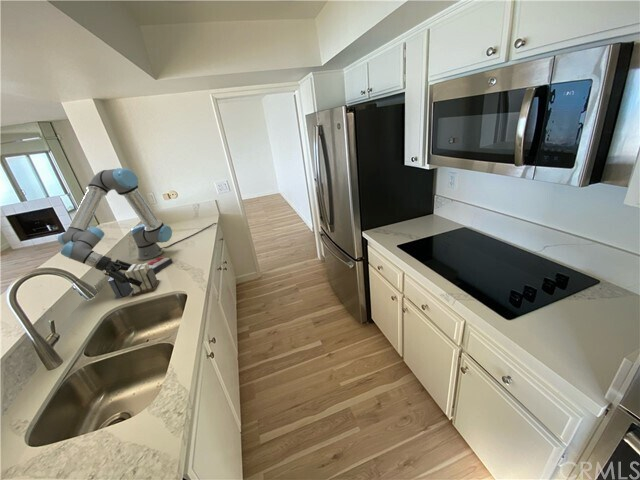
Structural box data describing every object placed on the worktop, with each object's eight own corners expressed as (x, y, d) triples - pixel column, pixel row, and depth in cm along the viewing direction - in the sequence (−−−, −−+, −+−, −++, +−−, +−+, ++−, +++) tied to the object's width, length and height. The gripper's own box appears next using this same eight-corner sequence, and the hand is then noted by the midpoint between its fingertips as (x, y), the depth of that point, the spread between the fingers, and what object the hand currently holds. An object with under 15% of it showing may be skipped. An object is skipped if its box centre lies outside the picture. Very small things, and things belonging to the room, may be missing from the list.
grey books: (121, 291, 150) (113, 274, 145) (132, 288, 151) (124, 272, 146) (116, 298, 143) (107, 281, 139) (127, 295, 145) (119, 278, 140)
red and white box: (171, 257, 176) (152, 267, 163) (173, 263, 177) (154, 274, 164) (158, 257, 179) (139, 267, 166) (160, 262, 181) (141, 273, 167)
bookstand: (139, 285, 153) (129, 265, 148) (159, 281, 155) (150, 260, 150) (132, 296, 143) (121, 274, 138) (154, 291, 146) (144, 269, 140)
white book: (141, 284, 152) (132, 264, 147) (145, 283, 153) (136, 263, 147) (135, 292, 144) (125, 272, 139) (139, 291, 144) (130, 271, 139)
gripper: (105, 258, 148) (146, 275, 157) (84, 277, 128) (133, 295, 138) (111, 247, 147) (153, 266, 156) (91, 265, 127) (140, 284, 137)
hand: (143, 280), depth 147 cm, fingers closed on white book, 9 cm apart
